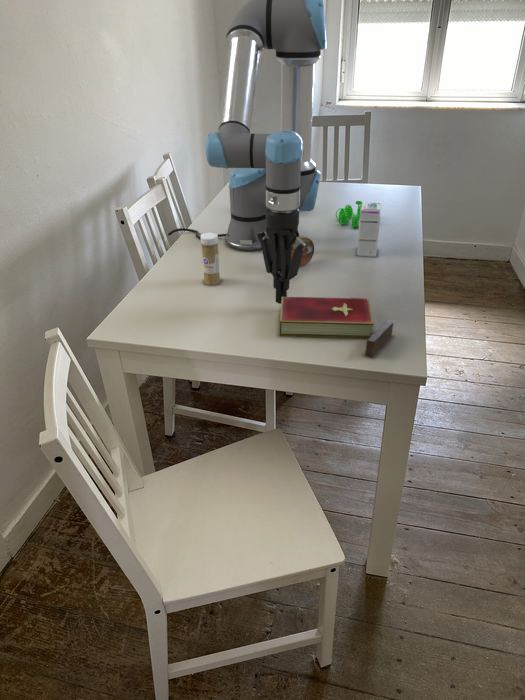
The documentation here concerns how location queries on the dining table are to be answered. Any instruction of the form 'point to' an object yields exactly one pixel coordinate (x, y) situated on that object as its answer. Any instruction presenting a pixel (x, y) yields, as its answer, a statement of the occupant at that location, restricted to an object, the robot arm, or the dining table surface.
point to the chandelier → (349, 215)
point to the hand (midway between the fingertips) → (281, 300)
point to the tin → (305, 251)
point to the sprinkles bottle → (210, 258)
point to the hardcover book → (325, 317)
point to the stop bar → (379, 338)
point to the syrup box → (368, 229)
